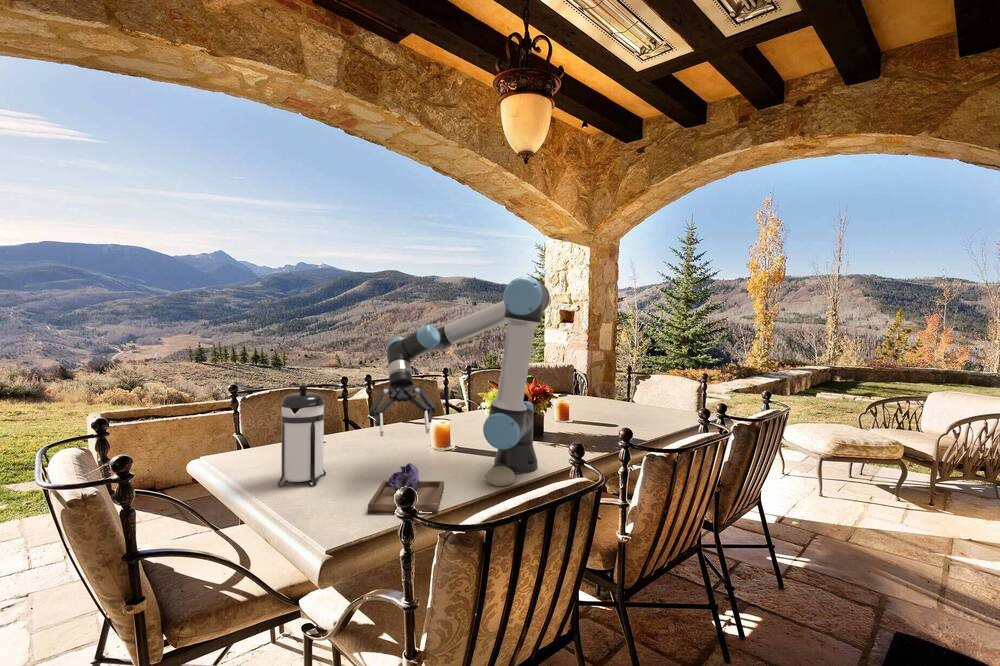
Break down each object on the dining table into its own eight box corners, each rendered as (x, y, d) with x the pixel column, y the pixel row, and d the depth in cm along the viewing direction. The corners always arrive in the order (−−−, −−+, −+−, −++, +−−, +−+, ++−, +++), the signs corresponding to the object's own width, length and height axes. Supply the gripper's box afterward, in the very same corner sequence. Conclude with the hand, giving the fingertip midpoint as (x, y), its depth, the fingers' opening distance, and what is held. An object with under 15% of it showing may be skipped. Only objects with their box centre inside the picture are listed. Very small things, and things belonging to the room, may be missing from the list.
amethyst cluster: (409, 462, 138) (399, 456, 129) (432, 476, 136) (423, 471, 127) (391, 489, 135) (379, 485, 126) (414, 505, 133) (404, 502, 124)
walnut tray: (443, 489, 137) (444, 480, 137) (437, 514, 119) (437, 504, 119) (383, 488, 136) (383, 480, 136) (367, 513, 119) (367, 504, 118)
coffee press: (339, 480, 143) (340, 385, 143) (287, 493, 132) (287, 389, 131) (316, 467, 156) (316, 379, 155) (266, 478, 144) (266, 383, 144)
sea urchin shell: (521, 479, 141) (504, 463, 139) (504, 499, 139) (486, 483, 137) (512, 470, 149) (496, 454, 148) (495, 489, 148) (479, 473, 146)
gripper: (436, 382, 158) (444, 436, 144) (360, 385, 150) (361, 441, 136) (439, 368, 152) (448, 423, 138) (361, 370, 145) (362, 428, 131)
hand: (405, 432), depth 137 cm, fingers open, 13 cm apart
